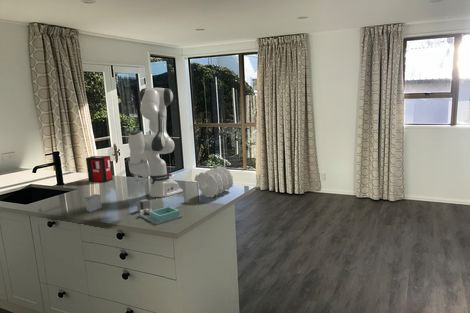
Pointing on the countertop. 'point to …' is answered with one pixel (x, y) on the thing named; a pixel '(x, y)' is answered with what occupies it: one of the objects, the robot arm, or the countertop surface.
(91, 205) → the medicine box
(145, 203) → the block
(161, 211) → the end holder
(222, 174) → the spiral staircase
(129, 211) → the countertop surface
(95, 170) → the cleaning product box
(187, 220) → the countertop surface
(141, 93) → the robot arm
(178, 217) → the board
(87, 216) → the countertop surface
